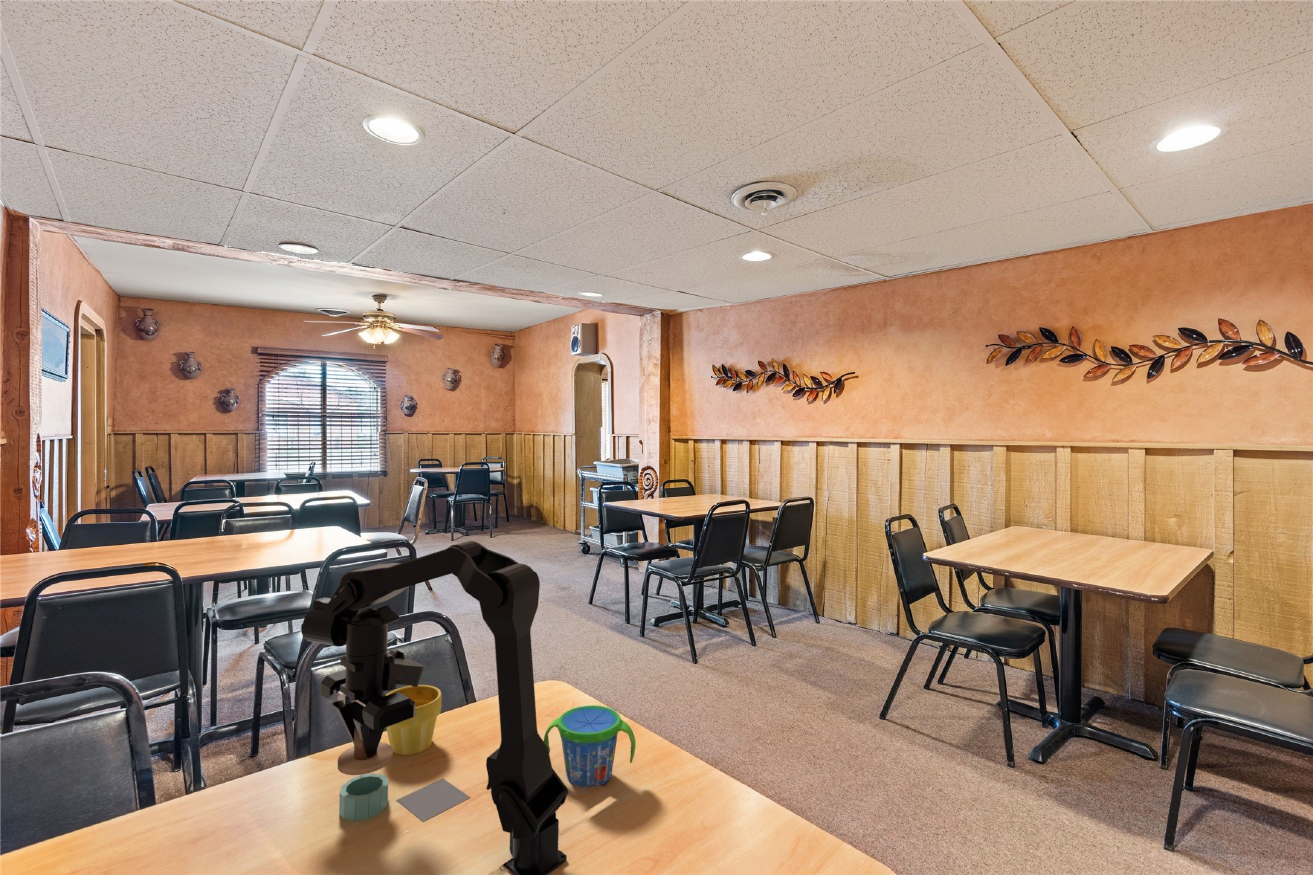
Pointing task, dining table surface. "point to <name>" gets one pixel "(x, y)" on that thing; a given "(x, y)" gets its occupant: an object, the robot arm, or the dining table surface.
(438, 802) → the mat
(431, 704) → the plant pot
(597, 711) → the snack cup
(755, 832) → the dining table surface
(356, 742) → the lid
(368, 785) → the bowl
